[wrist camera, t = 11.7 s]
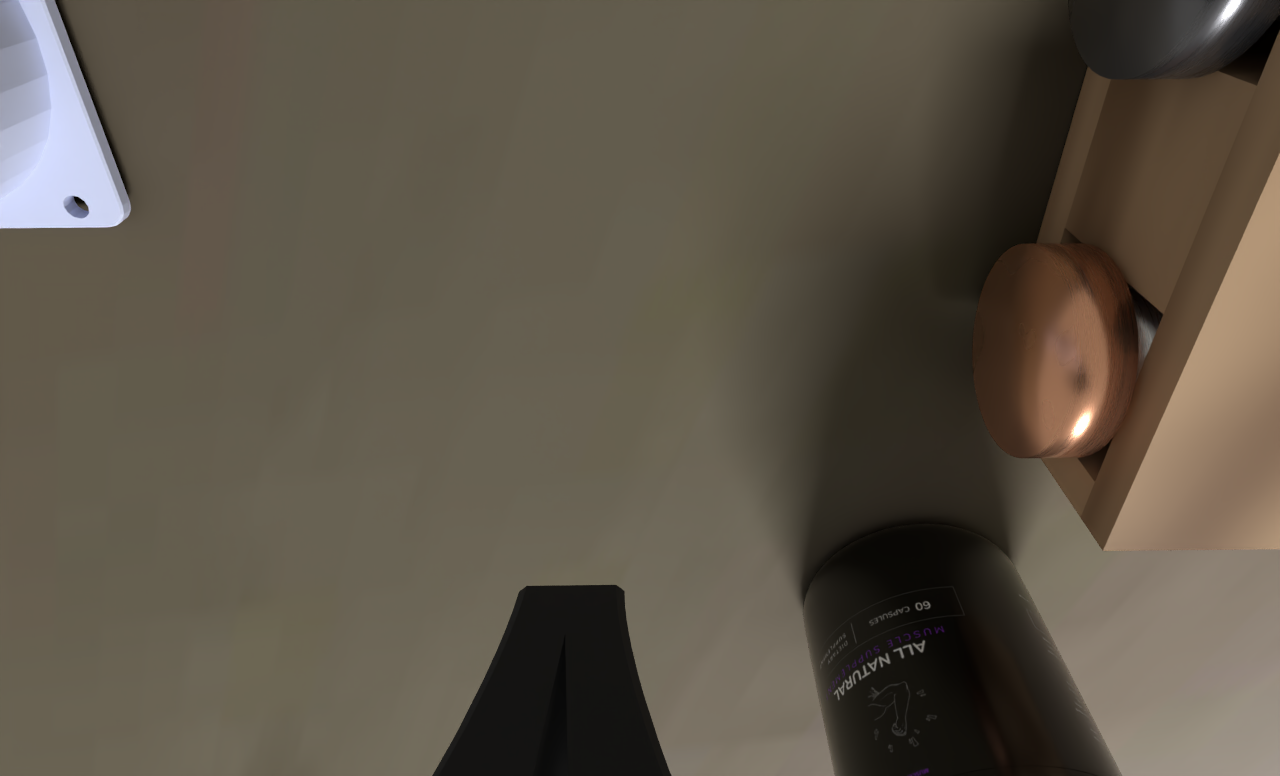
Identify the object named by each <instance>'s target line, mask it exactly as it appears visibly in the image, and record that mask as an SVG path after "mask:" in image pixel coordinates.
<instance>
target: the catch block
mask: <svg viewBox="0 0 1280 776" xmlns="http://www.w3.org/2000/svg"><path fill="white" fill-rule="evenodd" d="M1036 243H1085V244H1091V245H1093V246H1096V247H1098V248H1100V249H1101V250H1103V251H1104V252H1105V253H1107V254H1108V255H1109V256H1110V257H1111V258H1112V259H1113V261H1114V262H1115V263H1116V265H1117V266H1118V268H1119V269H1120V271H1121V273H1122V275H1123V276H1124V278H1125V280H1126V283H1127V285H1128V286H1129V285H1131V286H1132V287H1133V288H1134V289H1135V290H1136V291H1138V292H1139V293H1140V294H1141V295H1142V296H1143V297H1144V298H1146V299H1147V300H1148V301H1149V302H1150V303H1151V304H1152V305H1154V306H1155V307H1156V308H1157V309H1158V310H1159V311H1160V312H1161V313H1163V317H1162V319H1161V322H1160V324H1159V326H1158V329H1157V331H1156V334H1155V336H1154V339H1153V341H1152V344H1151V346H1150V348H1149V351H1148V353H1147V356H1146V358H1145V361H1144V363H1143V366H1142V368H1141V370H1140V373H1139V375H1138V378H1137V380H1136V383H1135V387H1134V391H1133V395H1132V399H1131V402H1130V405H1129V408H1128V410H1127V413H1126V415H1125V417H1124V420H1123V422H1122V424H1121V426H1120V427H1119V429H1118V430H1117V432H1116V434H1115V435H1114V436H1113V438H1112V439H1111V440H1110V441H1109V442H1108V444H1106V445H1105V446H1104V447H1103V448H1102V449H1101V450H1099V451H1097V452H1096V453H1094V454H1092V455H1089V456H1086V457H1078V458H1041V459H1042V461H1043V462H1044V464H1045V465H1046V467H1047V468H1048V470H1049V471H1050V473H1051V474H1052V476H1053V477H1054V479H1055V480H1056V482H1057V483H1058V485H1059V486H1060V488H1061V489H1062V491H1063V492H1064V494H1065V495H1066V497H1067V498H1068V500H1069V501H1070V502H1071V504H1072V505H1073V507H1074V508H1075V510H1076V511H1077V513H1078V514H1079V516H1080V517H1081V519H1082V520H1083V522H1084V523H1085V525H1086V526H1087V528H1088V529H1089V531H1090V532H1091V534H1092V535H1093V537H1094V538H1095V540H1096V541H1097V543H1098V544H1099V546H1100V547H1101V549H1102V550H1103V551H1135V550H1230V549H1280V21H1274V22H1273V23H1272V25H1271V26H1270V27H1269V28H1268V29H1267V30H1266V32H1265V33H1264V34H1263V35H1262V36H1261V37H1260V38H1259V39H1258V40H1257V41H1256V42H1255V43H1254V44H1253V45H1252V46H1251V47H1250V48H1249V49H1248V50H1247V51H1245V52H1244V53H1243V54H1242V55H1241V56H1239V57H1238V58H1237V59H1235V60H1234V61H1233V62H1231V63H1230V64H1228V65H1227V66H1225V67H1223V68H1221V69H1219V70H1218V71H1216V72H1214V73H1211V74H1208V75H1205V76H1203V77H1199V78H1192V79H1128V80H1118V79H1107V78H1104V77H1101V76H1099V75H1098V74H1096V73H1095V72H1093V71H1092V70H1091V69H1090V68H1089V67H1088V68H1087V71H1086V75H1085V78H1084V81H1083V85H1082V88H1081V92H1080V95H1079V99H1078V102H1077V105H1076V109H1075V112H1074V116H1073V119H1072V123H1071V126H1070V129H1069V133H1068V136H1067V140H1066V143H1065V147H1064V150H1063V153H1062V157H1061V160H1060V164H1059V167H1058V170H1057V174H1056V177H1055V181H1054V184H1053V188H1052V191H1051V194H1050V198H1049V201H1048V205H1047V208H1046V212H1045V215H1044V218H1043V222H1042V225H1041V229H1040V232H1039V236H1038V239H1037V242H1036Z"/></svg>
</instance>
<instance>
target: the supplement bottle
mask: <svg viewBox="0 0 1280 776" xmlns="http://www.w3.org/2000/svg"><path fill="white" fill-rule="evenodd" d="M803 615H804V625H805V631H806V637H807V641H808V648H809V653H810V658H811V662H812V667H813V672H814V677H815V682H816V687H817V692H818V696H819V701H820V706H821V711H822V716H823V721H824V726H825V730H826V735H827V740H828V745H829V750H830V755H831V760H832V764H833V769H834V774H835V776H1122V774H1121V772H1120V770H1119V769H1118V767H1117V765H1116V763H1115V761H1114V759H1113V757H1112V755H1111V753H1110V751H1109V749H1108V747H1107V745H1106V743H1105V741H1104V739H1103V737H1102V735H1101V733H1100V731H1099V729H1098V727H1097V725H1096V723H1095V721H1094V719H1093V717H1092V716H1091V714H1090V712H1089V710H1088V708H1087V706H1086V704H1085V702H1084V700H1083V698H1082V696H1081V694H1080V692H1079V690H1078V688H1077V686H1076V684H1075V682H1074V680H1073V678H1072V676H1071V674H1070V672H1069V670H1068V668H1067V666H1066V664H1065V663H1064V661H1063V659H1062V657H1061V655H1060V653H1059V651H1058V649H1057V647H1056V645H1055V643H1054V641H1053V639H1052V637H1051V635H1050V633H1049V631H1048V629H1047V627H1046V625H1045V623H1044V621H1043V619H1042V617H1041V615H1040V613H1039V612H1038V610H1037V608H1036V606H1035V604H1034V602H1033V600H1032V598H1031V596H1030V594H1029V592H1028V590H1027V589H1026V587H1025V585H1024V583H1023V581H1022V579H1021V577H1020V575H1019V574H1018V572H1017V570H1016V568H1015V566H1014V565H1013V563H1012V562H1011V560H1010V559H1009V558H1008V556H1007V555H1006V554H1005V553H1004V552H1003V551H1002V550H1001V549H1000V548H999V547H997V546H996V545H995V544H993V543H992V542H991V541H989V540H987V539H986V538H984V537H982V536H980V535H978V534H976V533H973V532H970V531H968V530H965V529H961V528H957V527H953V526H947V525H939V524H911V525H903V526H897V527H892V528H888V529H884V530H881V531H878V532H875V533H872V534H869V535H867V536H865V537H862V538H860V539H858V540H856V541H854V542H852V543H851V544H849V545H847V546H846V547H844V548H843V549H841V550H840V551H839V552H837V553H836V554H835V555H834V556H832V557H831V558H830V559H829V560H828V561H827V562H826V563H825V564H824V565H823V566H822V567H821V569H820V570H819V571H818V572H817V574H816V575H815V577H814V578H813V580H812V582H811V584H810V586H809V588H808V591H807V593H806V597H805V601H804V609H803Z"/></svg>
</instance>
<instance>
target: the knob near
mask: <svg viewBox="0 0 1280 776" xmlns="http://www.w3.org/2000/svg"><path fill="white" fill-rule="evenodd" d="M1068 4H1069V16H1070V23H1071V29H1072V34H1073V37H1074V41H1075V44H1076V47H1077V49H1078V51H1079V54H1080V56H1081V57H1082V59H1083V60H1084V62H1085V64H1086V65H1087V66H1088V67H1089V68H1090V69H1091V70H1092V71H1093V72H1095V73H1096V74H1098V75H1099V76H1101V77H1104V78H1107V79H1118V80H1128V79H1192V78H1199V77H1203V76H1205V75H1208V74H1211V73H1214V72H1216V71H1218V70H1219V69H1221V68H1223V67H1225V66H1227V65H1228V64H1230V63H1231V62H1233V61H1234V60H1235V59H1237V58H1238V57H1239V56H1241V55H1242V54H1243V53H1244V52H1245V51H1247V50H1248V49H1249V48H1250V47H1251V46H1252V45H1253V44H1254V43H1255V42H1256V41H1257V40H1258V39H1259V38H1260V37H1261V36H1262V35H1263V34H1264V33H1265V32H1266V30H1267V29H1268V28H1269V27H1270V26H1271V25H1272V23H1273V22H1274V21H1280V0H1068Z"/></svg>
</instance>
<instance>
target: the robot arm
mask: <svg viewBox="0 0 1280 776" xmlns="http://www.w3.org/2000/svg"><path fill="white" fill-rule="evenodd" d="M74 196H76V197H79V198H81V199H82V200H83V201H85V203H86V204H87V206H88V207H89V211H85V210H83V209H82V208H80V207H79V206H78V205H77V204H76V202H75V201H74ZM130 211H131V206H130V201H129V198H128V195H127V193H126V190H125V187H124V185H123V182H122V179H121V177H120V174H119V171H118V169H117V166H116V163H115V160H114V158H113V155H112V152H111V150H110V147H109V144H108V142H107V139H106V136H105V134H104V131H103V128H102V126H101V123H100V120H99V118H98V115H97V112H96V110H95V107H94V104H93V102H92V99H91V96H90V94H89V91H88V88H87V86H86V83H85V80H84V78H83V75H82V72H81V70H80V67H79V64H78V61H77V59H76V56H75V53H74V51H73V48H72V45H71V43H70V40H69V37H68V35H67V32H66V29H65V27H64V24H63V21H62V19H61V16H60V13H59V11H58V8H57V5H56V3H55V0H0V228H76V227H112V226H117V225H118V224H119V223H121V222H122V221H123V220H124V219H126V218H127V217H128V216H129V214H130ZM433 776H671V774H670V771H669V769H668V766H667V763H666V760H665V758H664V755H663V752H662V749H661V746H660V744H659V741H658V738H657V735H656V732H655V728H654V725H653V722H652V719H651V716H650V713H649V710H648V707H647V704H646V701H645V697H644V694H643V691H642V687H641V683H640V680H639V676H638V672H637V668H636V664H635V660H634V656H633V652H632V647H631V642H630V637H629V632H628V626H627V620H626V611H625V596H624V590H622V589H621V588H620V587H618V586H617V585H572V586H526V587H525V588H524V589H522V590H521V591H520V592H519V594H518V597H517V600H516V603H515V606H514V609H513V612H512V615H511V617H510V620H509V622H508V625H507V628H506V630H505V633H504V635H503V638H502V640H501V642H500V645H499V647H498V649H497V652H496V654H495V656H494V658H493V660H492V663H491V665H490V667H489V669H488V671H487V674H486V676H485V678H484V680H483V682H482V684H481V686H480V688H479V690H478V692H477V694H476V696H475V698H474V700H473V702H472V704H471V706H470V708H469V710H468V712H467V714H466V716H465V718H464V720H463V722H462V724H461V726H460V728H459V729H458V731H457V733H456V735H455V737H454V739H453V741H452V742H451V744H450V746H449V748H448V749H447V751H446V753H445V755H444V756H443V758H442V760H441V762H440V763H439V765H438V767H437V769H436V770H435V772H434V774H433Z"/></svg>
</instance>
